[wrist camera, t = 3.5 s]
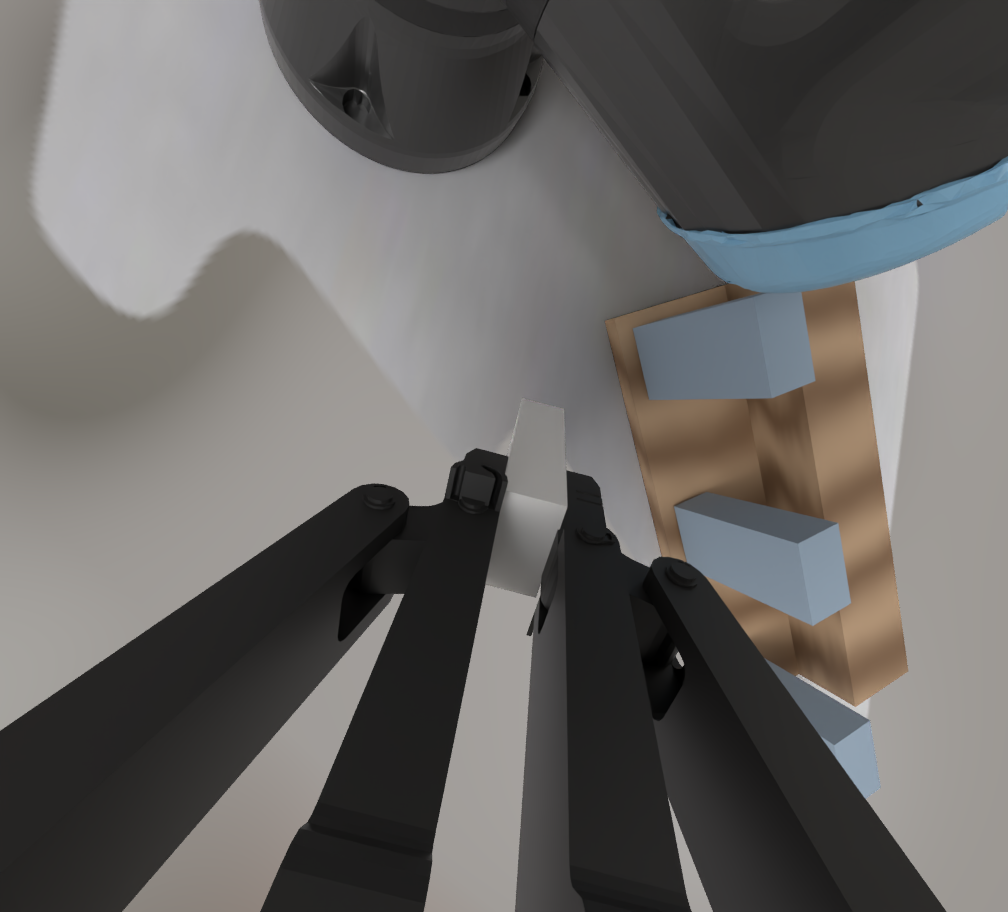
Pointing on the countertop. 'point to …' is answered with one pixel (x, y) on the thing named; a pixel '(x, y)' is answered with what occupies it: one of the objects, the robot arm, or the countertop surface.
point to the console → (783, 484)
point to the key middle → (767, 554)
